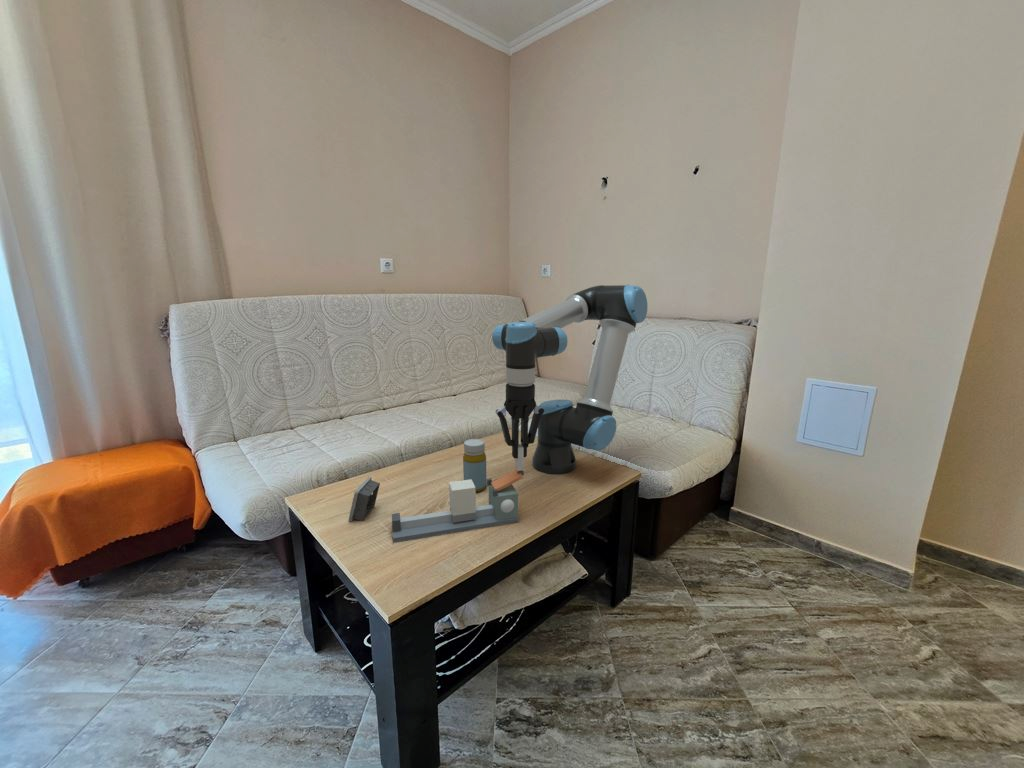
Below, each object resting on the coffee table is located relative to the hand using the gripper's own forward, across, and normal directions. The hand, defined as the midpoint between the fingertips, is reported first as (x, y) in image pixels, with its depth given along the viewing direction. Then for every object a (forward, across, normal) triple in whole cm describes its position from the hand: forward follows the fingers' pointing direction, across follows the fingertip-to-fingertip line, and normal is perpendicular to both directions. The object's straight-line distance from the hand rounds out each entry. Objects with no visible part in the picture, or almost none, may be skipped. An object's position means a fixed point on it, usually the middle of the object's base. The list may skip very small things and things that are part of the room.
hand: (519, 468), depth 112 cm
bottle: (+13, +8, -18) cm, 24 cm away
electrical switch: (+14, +40, -12) cm, 44 cm away
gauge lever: (+5, +8, 0) cm, 9 cm away
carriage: (+12, +16, 0) cm, 19 cm away
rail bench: (+13, +18, 0) cm, 22 cm away
